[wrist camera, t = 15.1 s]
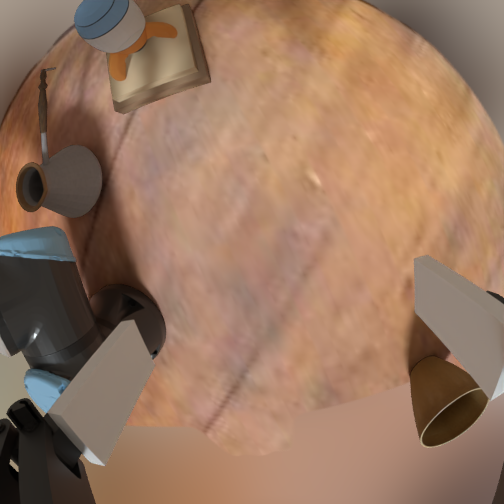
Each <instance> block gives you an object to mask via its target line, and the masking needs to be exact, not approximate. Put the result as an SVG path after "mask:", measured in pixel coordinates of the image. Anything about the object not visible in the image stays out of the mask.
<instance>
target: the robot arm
mask: <svg viewBox="0 0 504 504" xmlns="http://www.w3.org/2000/svg"><path fill="white" fill-rule="evenodd" d="M414 274H415V313H416V314H417V315H418V316H419V317H420V318H421V319H422V320H423V321H424V323H425V324H426V325H427V326H428V327H429V328H430V329H431V330H432V331H433V332H434V333H435V335H436V336H437V337H438V338H439V339H440V340H441V341H442V342H443V344H444V345H445V346H446V347H447V348H448V349H449V350H450V352H451V353H452V354H453V355H454V356H455V357H456V359H457V360H458V361H459V362H460V363H461V364H462V366H463V367H464V368H465V369H466V370H467V372H468V373H469V374H470V375H471V377H472V378H473V379H474V380H475V382H476V383H477V384H478V385H479V387H480V388H481V389H482V390H483V392H484V393H485V394H486V395H487V397H488V398H489V399H490V401H491V400H493V399H494V398H496V397H497V396H499V395H501V394H502V393H503V392H504V298H503V297H502V296H500V295H499V294H496V293H493V292H490V291H486V292H485V291H484V290H482V289H481V288H479V287H478V286H476V285H475V284H473V283H472V282H470V281H469V280H467V279H466V278H464V277H463V276H461V275H460V274H458V273H456V272H455V271H453V270H452V269H450V268H448V267H447V266H445V265H444V264H442V263H440V262H439V261H437V260H435V259H434V258H432V257H430V256H429V255H425V256H421V257H418V258H415V259H414ZM165 338H166V328H165V323H164V320H163V318H162V315H161V314H160V312H159V310H158V309H157V307H156V306H155V305H154V303H153V302H152V301H151V300H150V299H149V298H148V297H147V296H145V295H144V294H143V293H141V292H140V291H138V290H136V289H134V288H132V287H129V286H126V285H121V284H112V285H108V286H105V287H103V288H102V289H100V290H99V291H98V292H97V293H96V294H94V295H93V296H92V298H91V299H90V301H89V300H88V298H87V295H86V292H85V289H84V287H83V284H82V281H81V278H80V275H79V272H78V269H77V265H76V258H75V257H74V256H73V253H72V251H71V248H70V245H69V242H68V239H67V236H66V234H65V232H64V231H63V230H62V229H60V228H58V227H54V226H50V227H42V228H36V229H30V230H25V231H21V232H16V233H12V234H8V235H4V236H1V237H0V353H1V354H3V355H5V356H8V357H11V356H13V355H15V354H17V353H18V352H20V351H22V353H23V355H24V357H25V358H26V361H27V362H28V364H29V366H30V369H29V370H28V371H26V375H25V377H24V383H25V388H26V390H27V392H28V394H29V395H30V396H31V398H32V399H33V400H34V402H35V403H36V404H37V405H38V406H39V407H40V408H41V409H42V410H43V411H44V412H45V413H46V415H45V416H44V417H42V415H41V414H40V413H39V412H38V410H37V409H36V407H35V406H34V405H33V403H32V402H31V400H29V399H27V398H24V399H20V400H18V401H17V402H15V403H14V404H13V405H11V406H10V408H9V409H8V411H7V413H6V414H7V415H8V417H9V418H10V419H11V421H12V422H13V423H14V424H15V426H16V427H17V428H15V427H14V426H13V425H12V423H11V422H10V421H9V420H8V419H1V420H0V504H96V503H95V500H94V497H93V494H92V491H91V488H90V484H89V481H88V478H87V474H86V471H85V467H84V464H83V462H82V461H81V460H80V459H79V457H80V455H81V454H83V455H84V456H85V457H86V458H87V459H88V460H89V461H90V462H91V463H95V464H99V465H103V466H106V464H107V461H108V459H109V457H110V455H111V453H112V451H113V449H114V447H115V445H116V442H117V441H118V438H119V436H120V434H121V432H122V430H123V428H124V426H125V424H126V422H127V420H128V418H129V416H130V414H131V412H132V410H133V408H134V406H135V404H136V402H137V400H138V398H139V396H140V394H141V392H142V390H143V388H144V386H145V384H146V382H147V380H148V378H149V377H150V375H151V373H152V371H153V369H154V367H155V364H154V362H153V359H154V358H155V357H156V356H157V355H158V354H159V352H160V350H161V348H162V347H163V345H164V342H165ZM10 459H11V460H13V462H14V463H16V464H17V466H18V467H19V472H17V471H16V470H15V469H14V468H13V467H12V466H11V465H10V464H9V463H10ZM492 504H504V463H503V468H502V471H501V475H500V479H499V483H498V486H497V490H496V493H495V496H494V499H493V502H492Z"/></svg>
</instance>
